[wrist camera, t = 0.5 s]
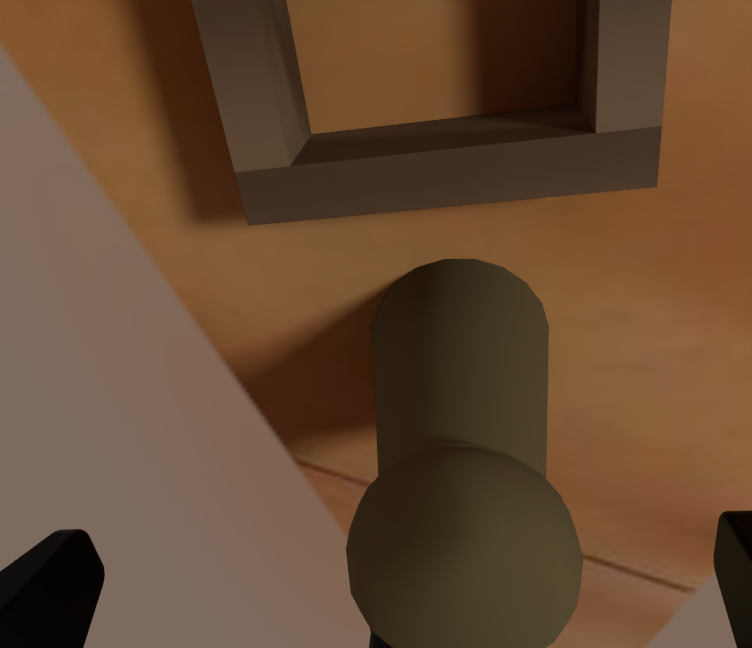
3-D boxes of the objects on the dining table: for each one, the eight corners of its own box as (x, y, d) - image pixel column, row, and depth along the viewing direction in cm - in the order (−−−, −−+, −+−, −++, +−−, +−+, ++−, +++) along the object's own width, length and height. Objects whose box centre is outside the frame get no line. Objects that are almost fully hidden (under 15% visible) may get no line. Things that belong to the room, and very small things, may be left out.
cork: (363, 394, 24) (308, 687, 15) (381, 246, 21) (324, 501, 12) (526, 417, 24) (572, 729, 15) (569, 272, 21) (661, 551, 12)
